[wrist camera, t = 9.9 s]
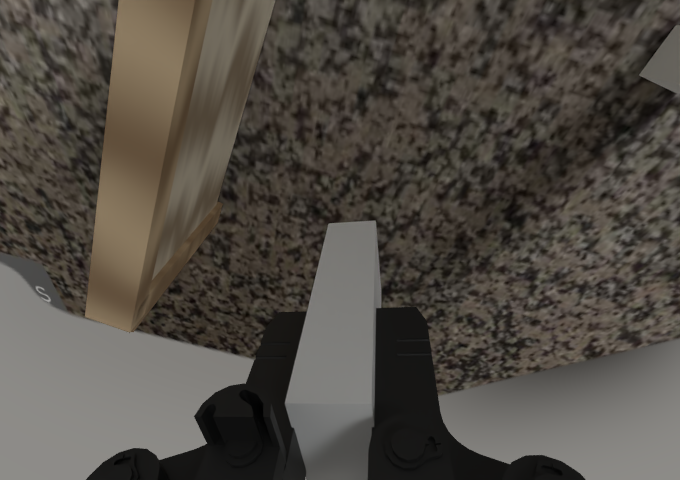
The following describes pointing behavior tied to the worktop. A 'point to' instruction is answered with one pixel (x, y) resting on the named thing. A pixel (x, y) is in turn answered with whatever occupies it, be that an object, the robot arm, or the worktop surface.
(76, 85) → the worktop surface
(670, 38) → the post
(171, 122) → the gate
